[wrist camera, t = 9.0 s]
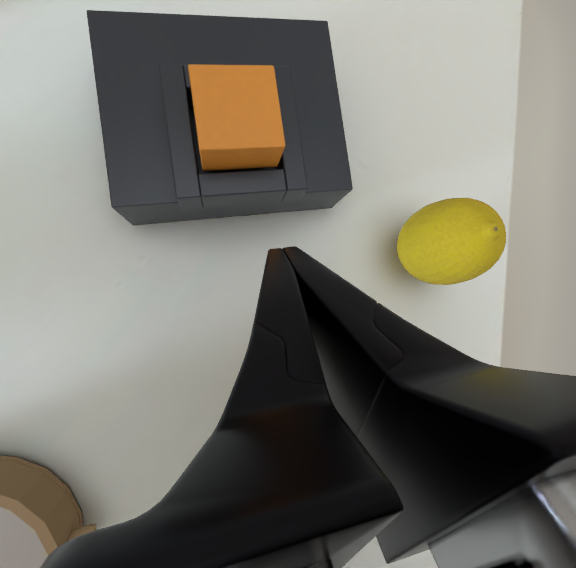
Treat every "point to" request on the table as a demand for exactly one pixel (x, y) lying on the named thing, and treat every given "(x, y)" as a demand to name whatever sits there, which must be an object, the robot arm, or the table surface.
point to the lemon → (451, 241)
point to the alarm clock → (34, 514)
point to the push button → (181, 120)
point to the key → (237, 116)
